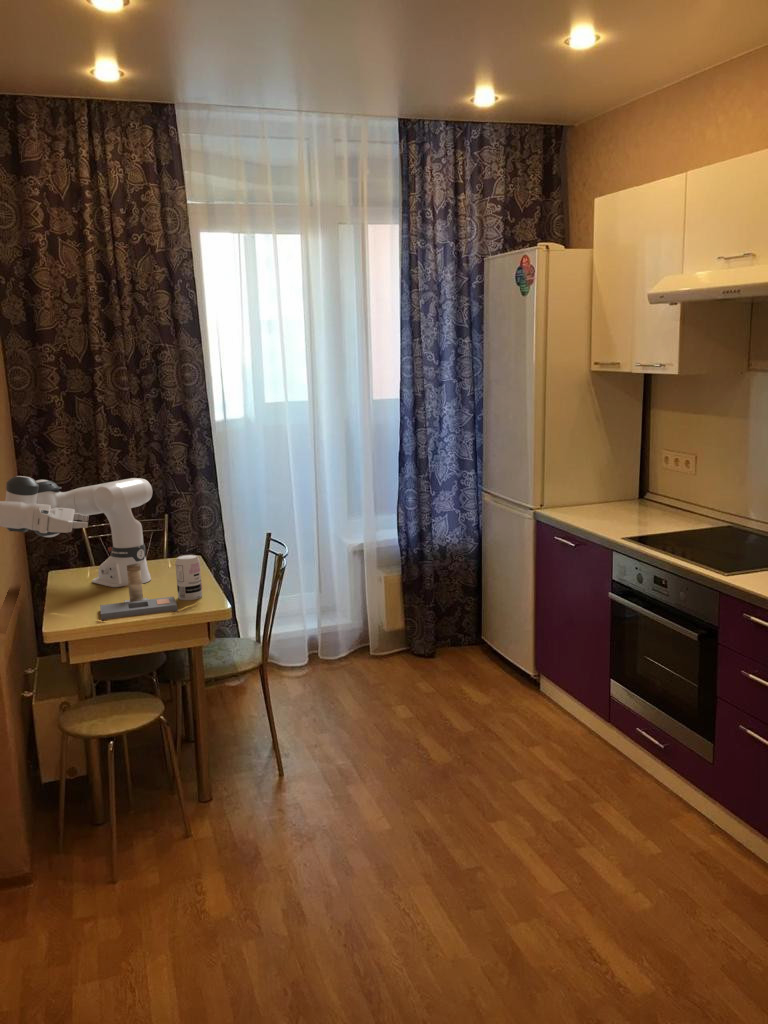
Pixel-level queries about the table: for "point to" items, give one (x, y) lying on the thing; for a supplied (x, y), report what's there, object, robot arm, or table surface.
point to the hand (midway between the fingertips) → (88, 521)
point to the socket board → (138, 607)
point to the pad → (129, 600)
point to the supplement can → (188, 577)
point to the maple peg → (134, 582)
